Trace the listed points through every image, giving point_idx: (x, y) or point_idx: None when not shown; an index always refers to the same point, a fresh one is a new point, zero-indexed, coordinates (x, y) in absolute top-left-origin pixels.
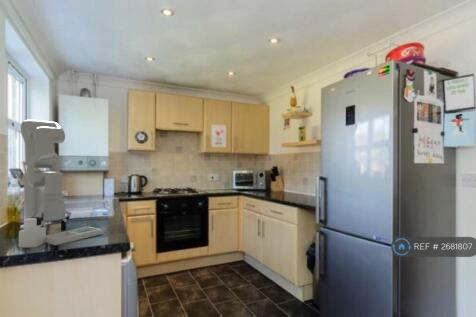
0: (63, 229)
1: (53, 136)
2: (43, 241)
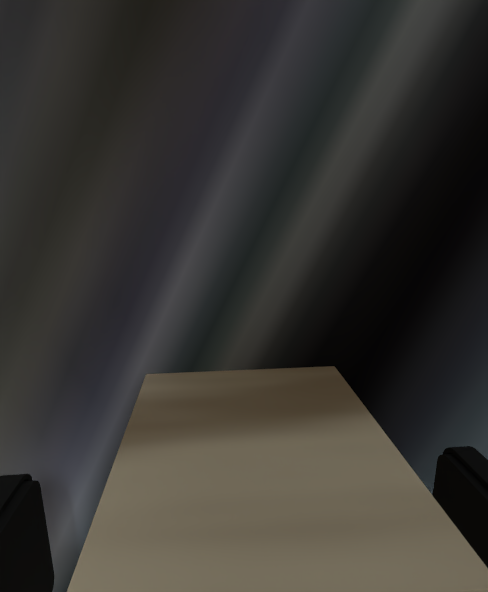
0: None
1: None
2: None
